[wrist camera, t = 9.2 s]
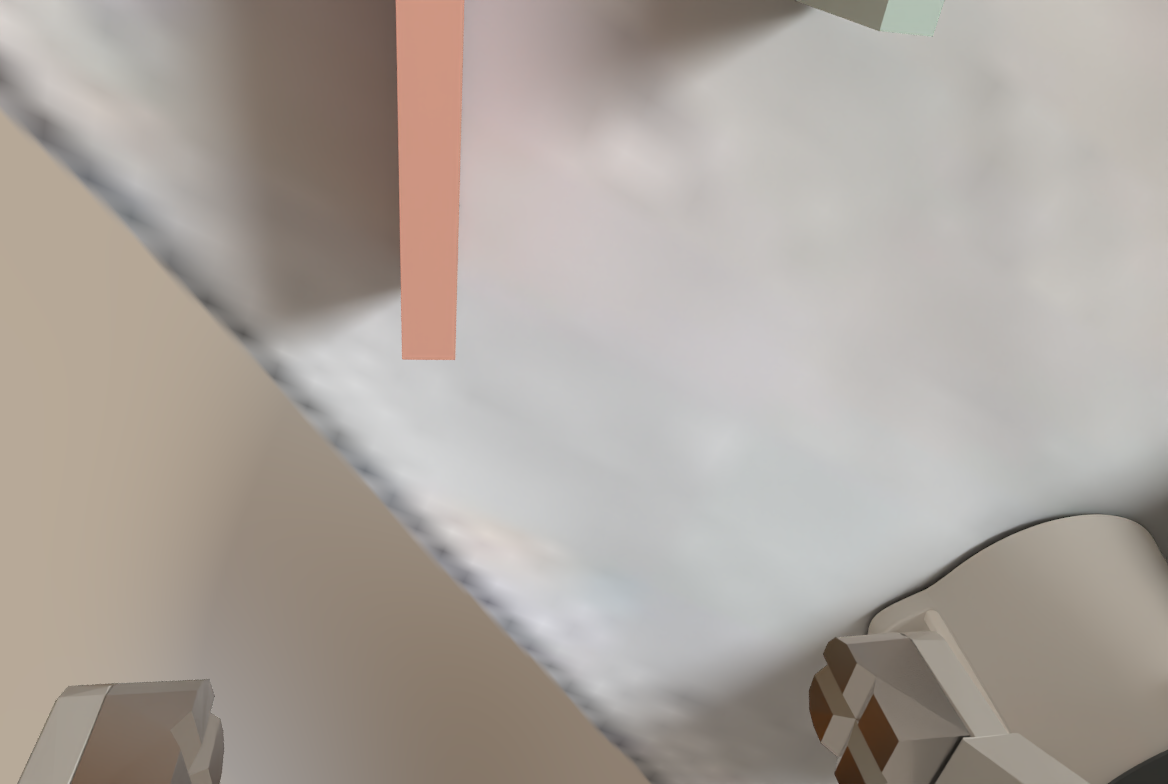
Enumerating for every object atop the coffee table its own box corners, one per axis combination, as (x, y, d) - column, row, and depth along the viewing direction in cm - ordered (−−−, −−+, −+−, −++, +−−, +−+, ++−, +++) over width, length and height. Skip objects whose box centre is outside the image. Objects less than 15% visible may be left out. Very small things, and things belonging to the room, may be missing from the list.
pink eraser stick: (449, 279, 25) (455, 359, 21) (405, 278, 25) (402, 359, 21) (460, -285, 18) (473, -330, 13) (397, -296, 17) (390, -345, 13)
